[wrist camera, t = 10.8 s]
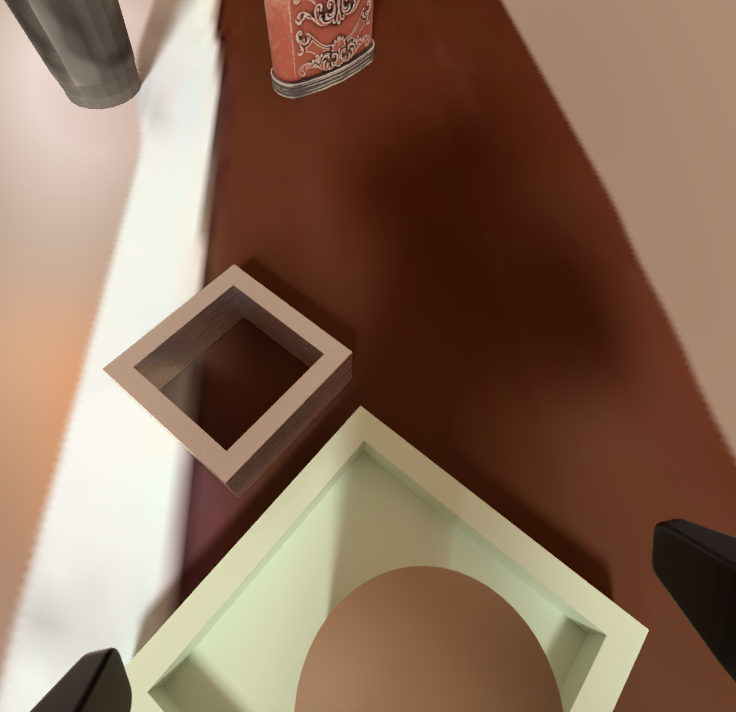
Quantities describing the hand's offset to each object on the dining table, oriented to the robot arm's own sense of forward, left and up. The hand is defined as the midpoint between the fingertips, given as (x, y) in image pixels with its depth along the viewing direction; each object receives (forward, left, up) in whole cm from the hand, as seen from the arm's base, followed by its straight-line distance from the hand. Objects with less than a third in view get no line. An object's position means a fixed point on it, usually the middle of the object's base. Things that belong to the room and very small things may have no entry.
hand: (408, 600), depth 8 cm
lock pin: (-1, -1, -10) cm, 10 cm away
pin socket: (+3, +10, -11) cm, 15 cm away
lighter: (+23, +23, -11) cm, 34 cm away
